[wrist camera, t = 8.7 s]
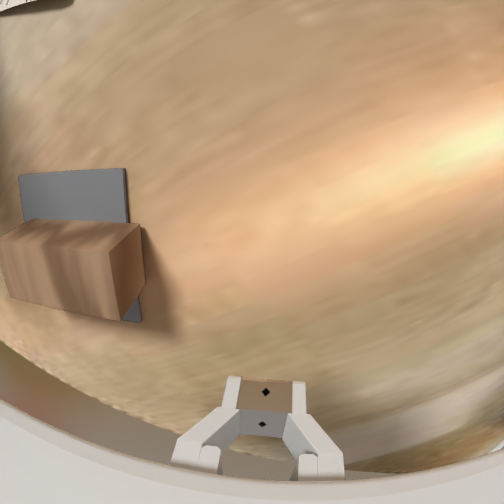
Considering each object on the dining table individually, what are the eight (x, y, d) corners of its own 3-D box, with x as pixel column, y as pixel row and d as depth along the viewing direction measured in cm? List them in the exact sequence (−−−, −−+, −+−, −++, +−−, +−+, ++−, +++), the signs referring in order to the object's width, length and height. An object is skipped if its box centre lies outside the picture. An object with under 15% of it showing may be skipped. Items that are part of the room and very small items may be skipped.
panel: (124, 168, 20) (122, 169, 20) (142, 320, 25) (140, 323, 25) (21, 175, 21) (18, 176, 20) (47, 304, 26) (45, 306, 26)
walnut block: (108, 252, 17) (-6, 240, 17) (120, 321, 19) (10, 297, 19) (140, 223, 21) (32, 218, 22) (145, 284, 23) (42, 270, 24)
